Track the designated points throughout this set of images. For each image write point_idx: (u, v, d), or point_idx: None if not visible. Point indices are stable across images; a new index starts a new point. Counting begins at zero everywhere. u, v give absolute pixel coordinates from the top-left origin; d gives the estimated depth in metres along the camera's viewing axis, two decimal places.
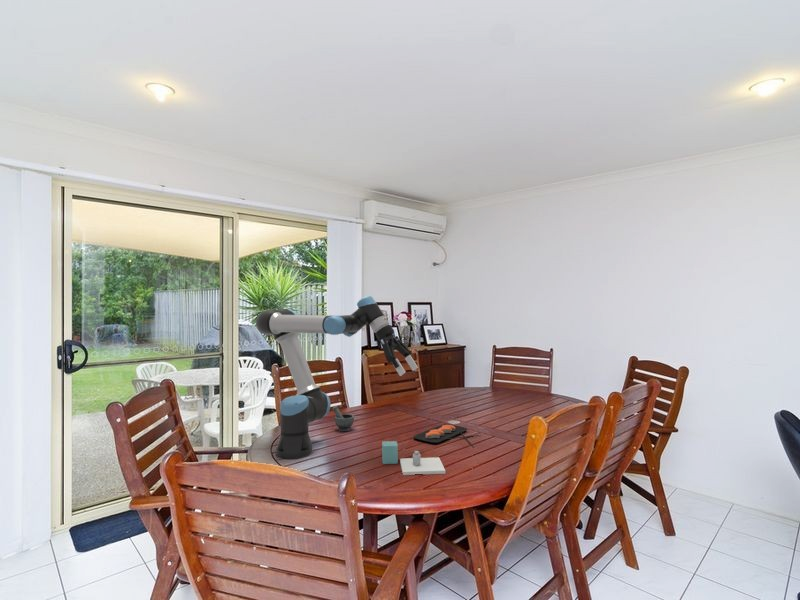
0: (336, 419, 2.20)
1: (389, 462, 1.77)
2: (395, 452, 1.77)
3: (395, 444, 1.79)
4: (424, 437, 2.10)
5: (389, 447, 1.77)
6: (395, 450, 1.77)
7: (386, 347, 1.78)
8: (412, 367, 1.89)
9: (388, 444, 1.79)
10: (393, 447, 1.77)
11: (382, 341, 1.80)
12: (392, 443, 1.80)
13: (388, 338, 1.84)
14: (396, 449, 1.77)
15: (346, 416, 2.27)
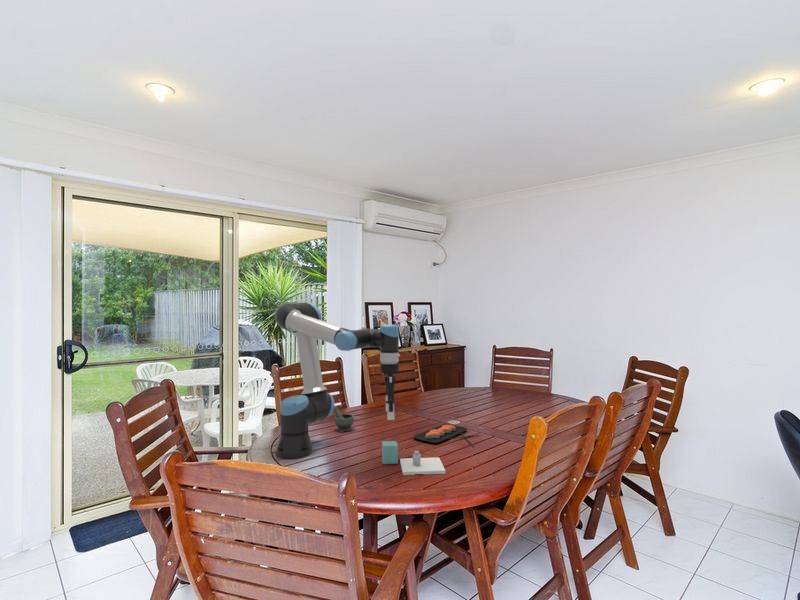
0: (336, 419, 2.20)
1: (389, 462, 1.77)
2: (395, 452, 1.77)
3: (395, 444, 1.79)
4: (424, 437, 2.10)
5: (389, 447, 1.77)
6: (395, 450, 1.77)
7: (392, 388, 1.72)
8: None
9: (388, 444, 1.79)
10: (393, 447, 1.77)
11: (390, 379, 1.73)
12: (392, 443, 1.80)
13: (392, 376, 1.78)
14: (396, 449, 1.77)
15: (346, 416, 2.27)
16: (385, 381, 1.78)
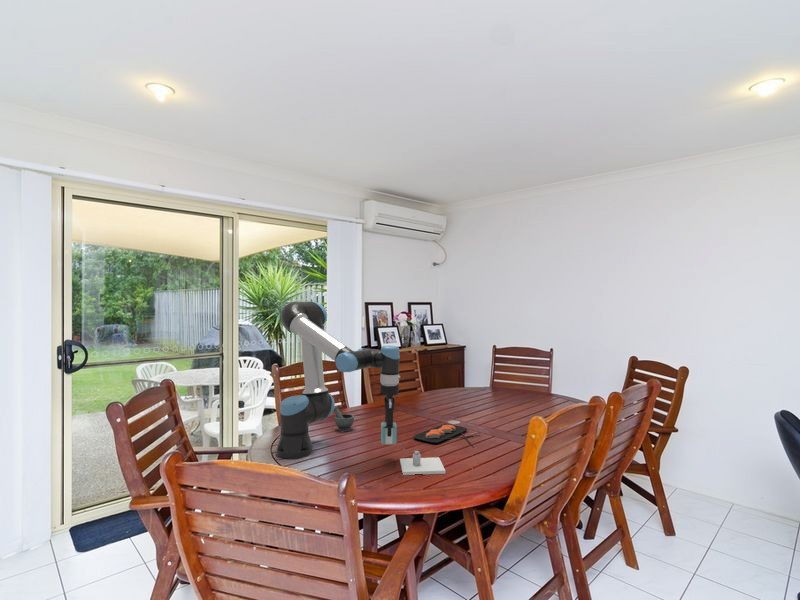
0: (336, 419, 2.20)
1: None
2: (394, 433, 1.78)
3: (394, 425, 1.79)
4: (424, 437, 2.10)
5: None
6: (394, 431, 1.78)
7: (391, 414, 1.74)
8: None
9: None
10: None
11: (390, 405, 1.74)
12: None
13: (392, 398, 1.78)
14: (395, 430, 1.78)
15: (346, 416, 2.27)
16: (385, 403, 1.78)
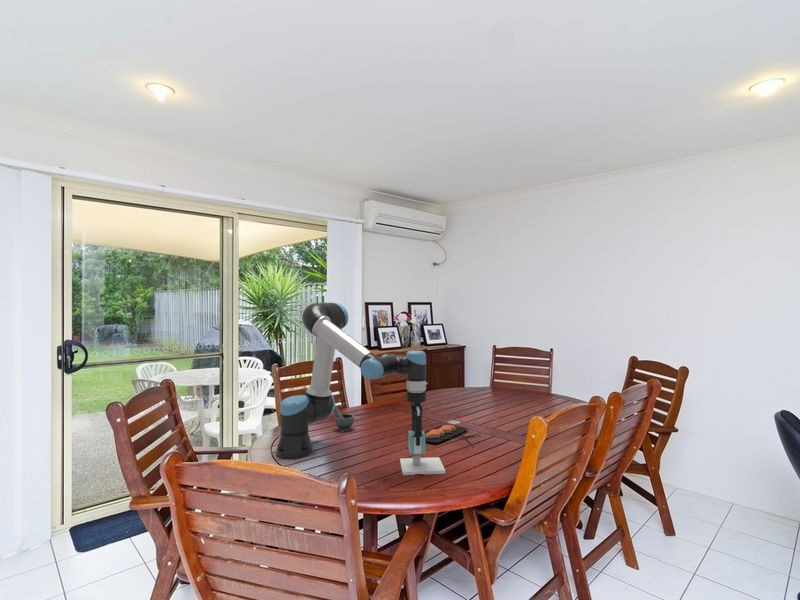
0: (336, 419, 2.20)
1: None
2: (423, 442, 1.70)
3: (422, 433, 1.72)
4: None
5: None
6: (423, 439, 1.70)
7: (420, 422, 1.67)
8: None
9: None
10: None
11: (418, 413, 1.66)
12: None
13: (420, 405, 1.70)
14: (424, 438, 1.70)
15: (346, 416, 2.27)
16: (412, 411, 1.71)
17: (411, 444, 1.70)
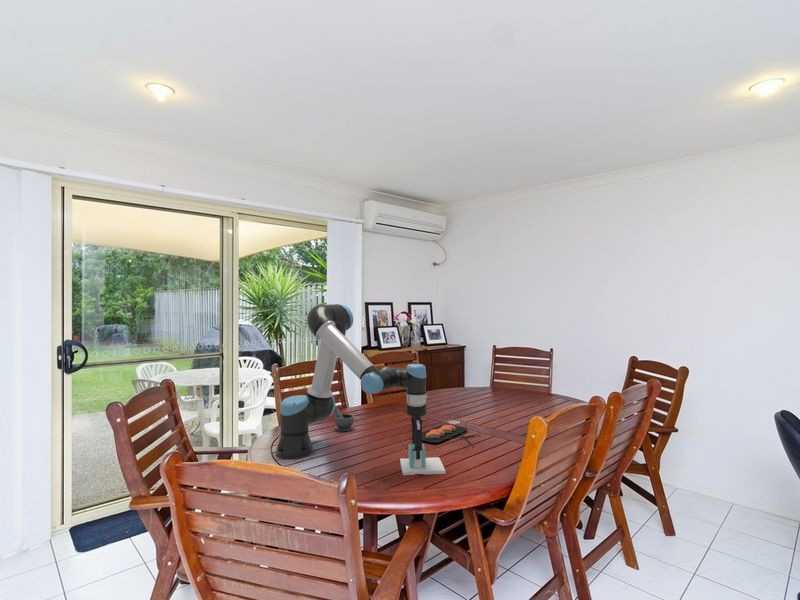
0: (336, 419, 2.20)
1: None
2: (423, 456, 1.70)
3: (422, 447, 1.72)
4: (424, 437, 2.10)
5: None
6: (423, 453, 1.70)
7: (420, 436, 1.67)
8: None
9: None
10: None
11: (418, 427, 1.66)
12: None
13: (420, 419, 1.70)
14: (424, 452, 1.70)
15: (346, 416, 2.27)
16: (412, 424, 1.71)
17: (411, 458, 1.70)
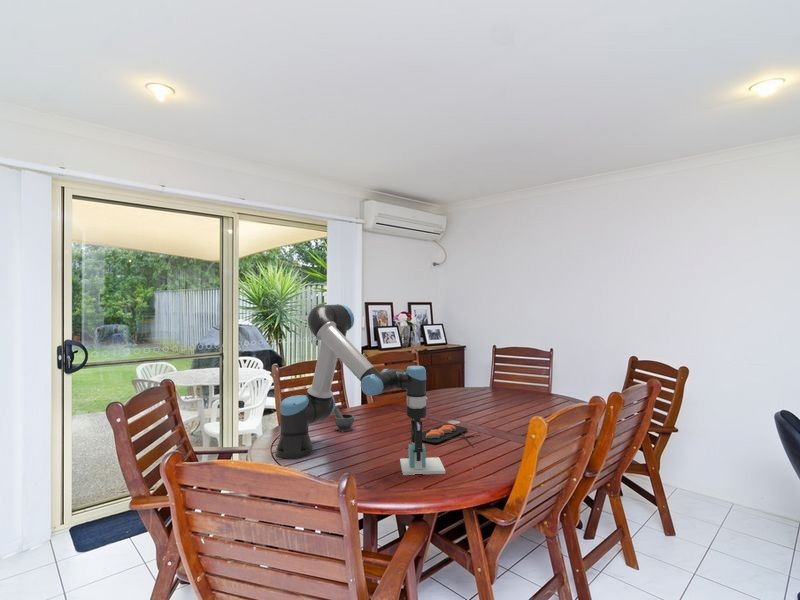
0: (336, 419, 2.20)
1: None
2: (423, 456, 1.70)
3: (422, 447, 1.72)
4: (424, 437, 2.10)
5: None
6: (423, 453, 1.70)
7: (420, 437, 1.66)
8: None
9: None
10: None
11: (418, 427, 1.66)
12: None
13: (420, 421, 1.70)
14: (424, 452, 1.70)
15: (346, 416, 2.27)
16: (412, 426, 1.71)
17: (411, 458, 1.70)
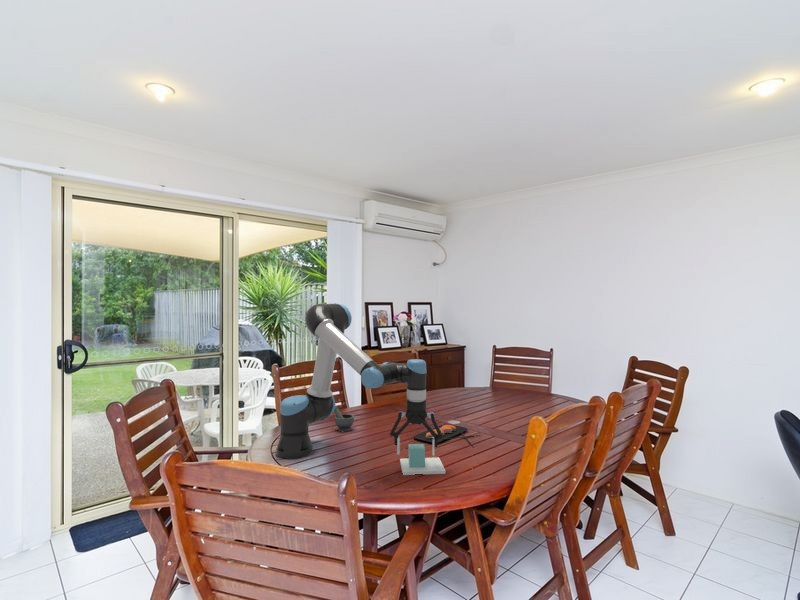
0: (336, 419, 2.20)
1: (416, 466, 1.70)
2: (422, 456, 1.70)
3: (422, 447, 1.72)
4: (424, 437, 2.10)
5: (416, 450, 1.70)
6: (422, 453, 1.70)
7: (436, 422, 1.73)
8: (399, 450, 1.73)
9: (415, 447, 1.72)
10: (420, 450, 1.70)
11: (433, 415, 1.72)
12: (419, 446, 1.73)
13: None
14: (423, 452, 1.70)
15: (346, 416, 2.27)
16: (421, 419, 1.71)
17: (411, 458, 1.70)
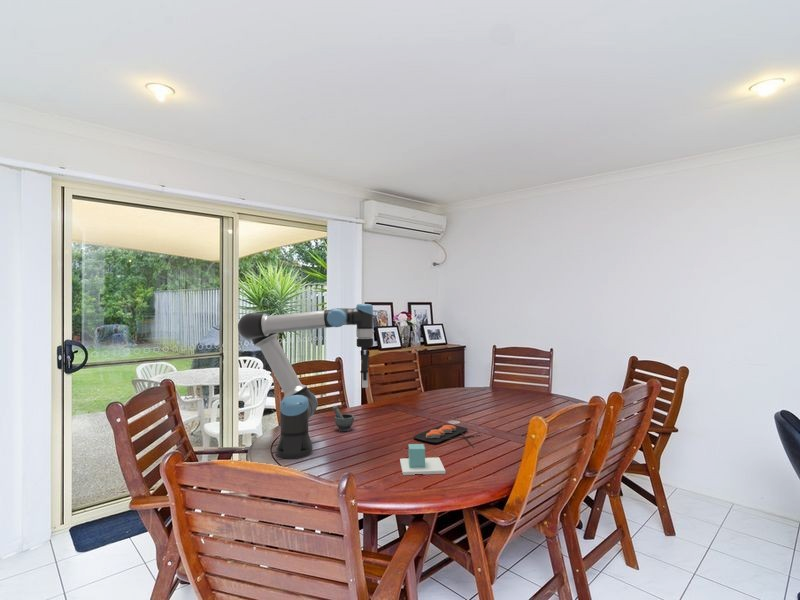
0: (336, 419, 2.20)
1: (416, 466, 1.70)
2: (422, 456, 1.70)
3: (422, 447, 1.72)
4: (424, 437, 2.10)
5: (416, 450, 1.70)
6: (422, 453, 1.70)
7: (366, 359, 1.94)
8: None
9: (415, 447, 1.72)
10: (420, 450, 1.70)
11: (364, 352, 1.95)
12: (419, 446, 1.73)
13: (367, 350, 2.00)
14: (423, 452, 1.70)
15: (346, 416, 2.27)
16: None
17: (411, 458, 1.70)
